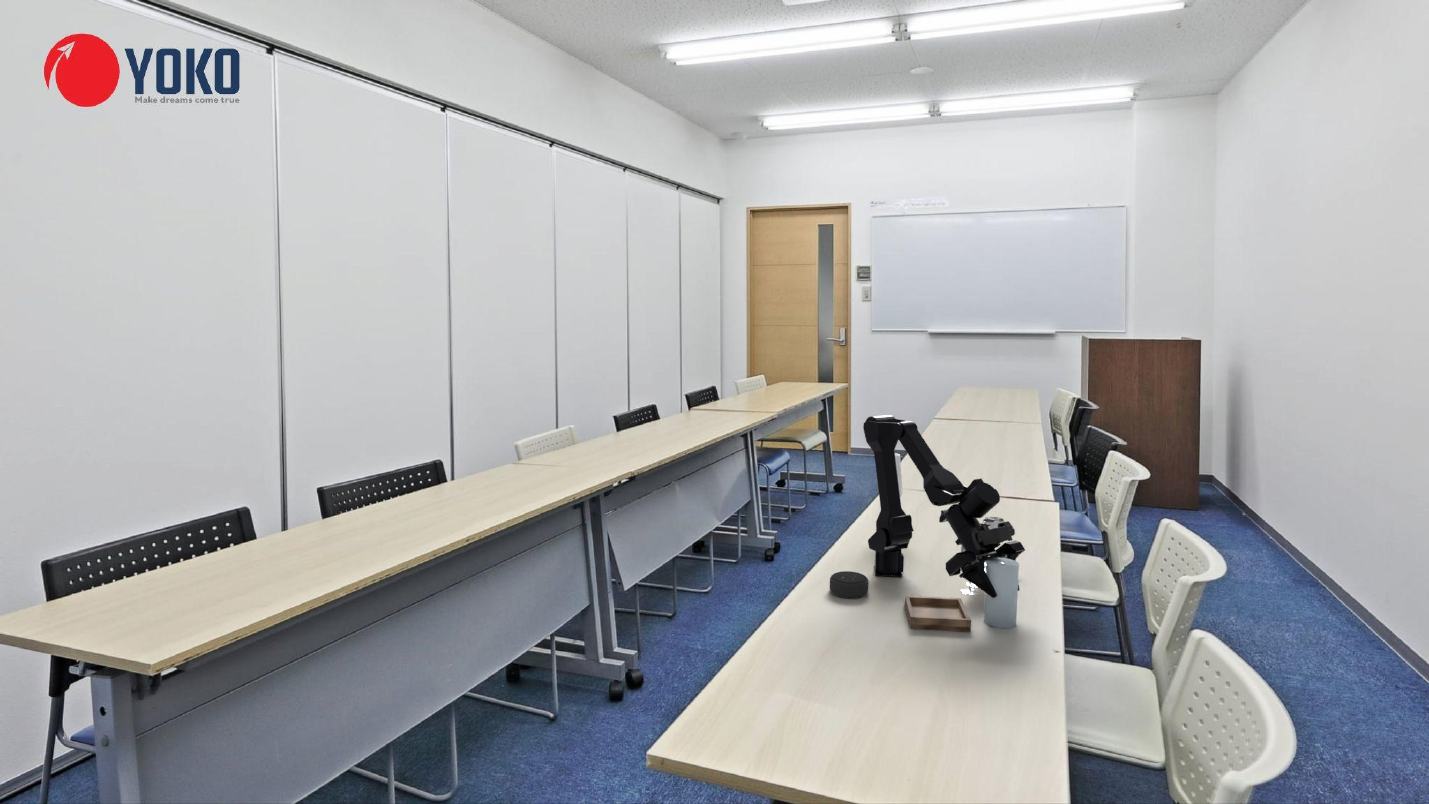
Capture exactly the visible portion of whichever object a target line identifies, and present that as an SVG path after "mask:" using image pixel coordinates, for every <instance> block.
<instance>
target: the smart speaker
mask: <svg viewBox="0 0 1429 804" xmlns="http://www.w3.org/2000/svg"><path fill="white" fill-rule="evenodd" d="M869 585H870V584H869V578H868V577H867V576H866V575H864V574H863V573H860V572H857V571H850V570H849V571H848V570H847V571H845V570H843V571H838V572H834V573H833V574H831V576H830V577H829V590H830V593H831V594H833V595H834V596H836V597H838V598H843V599H850V598H852V599H860V598H862V597H865V596H866V595H867V594H868V593H869Z"/></svg>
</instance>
